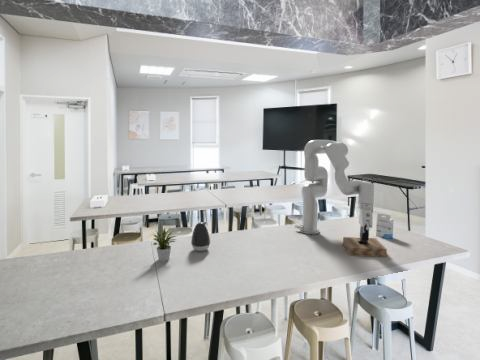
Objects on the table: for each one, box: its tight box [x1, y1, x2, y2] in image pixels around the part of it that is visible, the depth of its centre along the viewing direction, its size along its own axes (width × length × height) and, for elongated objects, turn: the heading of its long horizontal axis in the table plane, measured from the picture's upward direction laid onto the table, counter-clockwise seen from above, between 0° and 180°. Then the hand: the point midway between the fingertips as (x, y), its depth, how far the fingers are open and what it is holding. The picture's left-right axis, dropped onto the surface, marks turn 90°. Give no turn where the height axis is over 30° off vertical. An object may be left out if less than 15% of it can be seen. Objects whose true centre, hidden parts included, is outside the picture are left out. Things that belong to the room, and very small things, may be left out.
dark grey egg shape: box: [190, 221, 211, 252], centre depth 169 cm, size 10×10×15 cm
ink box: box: [375, 212, 394, 240], centre depth 192 cm, size 8×5×15 cm, turn 39°
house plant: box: [152, 227, 177, 262], centre depth 154 cm, size 14×14×16 cm
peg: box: [359, 226, 368, 245], centre depth 168 cm, size 4×4×12 cm
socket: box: [342, 236, 388, 258], centre depth 169 cm, size 18×18×4 cm
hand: (364, 238), depth 168 cm, fingers closed on peg, 4 cm apart
